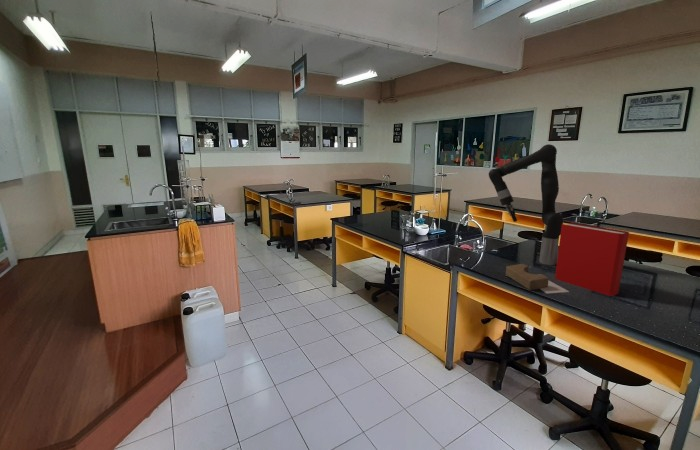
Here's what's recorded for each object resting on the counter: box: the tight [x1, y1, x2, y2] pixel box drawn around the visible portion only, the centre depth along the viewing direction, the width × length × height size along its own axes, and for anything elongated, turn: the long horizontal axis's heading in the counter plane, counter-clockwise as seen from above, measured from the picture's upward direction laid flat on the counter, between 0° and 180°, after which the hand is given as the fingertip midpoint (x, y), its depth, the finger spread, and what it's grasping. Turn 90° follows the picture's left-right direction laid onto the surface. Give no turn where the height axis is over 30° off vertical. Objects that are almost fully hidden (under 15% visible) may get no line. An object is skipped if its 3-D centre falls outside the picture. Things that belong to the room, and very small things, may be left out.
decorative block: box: [505, 263, 550, 291], centre depth 177 cm, size 11×6×20 cm
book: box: [554, 222, 630, 297], centre depth 169 cm, size 27×8×32 cm, turn 30°
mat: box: [537, 273, 570, 295], centre depth 174 cm, size 12×22×2 cm, turn 6°
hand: (515, 221), depth 209 cm, fingers closed
